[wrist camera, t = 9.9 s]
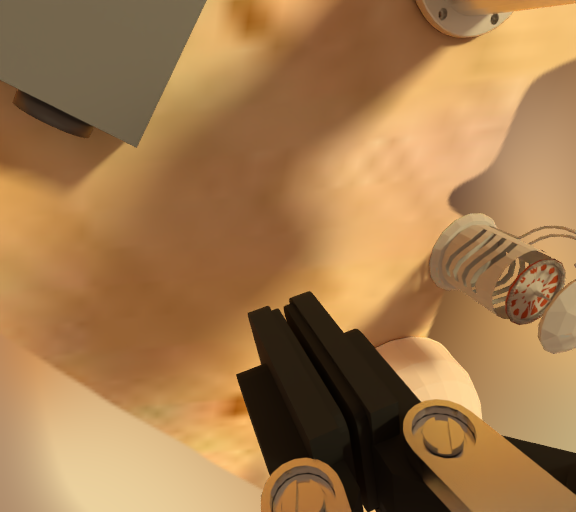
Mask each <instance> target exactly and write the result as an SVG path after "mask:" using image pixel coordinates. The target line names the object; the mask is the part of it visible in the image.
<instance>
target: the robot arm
mask: <svg viewBox="0 0 576 512" xmlns="http://www.w3.org/2000/svg"><path fill="white" fill-rule="evenodd" d="M416 3H417V5H418V7H419V9H420V10H421V12H422V14H423V16H424V17H425V18H426V19H427V21H428V22H429V23H430V24H431V25H432V26H433V27H434V28H436V29H437V30H439V31H440V32H441V33H443V34H446V35H449V36H452V37H460V38H466V37H476V36H479V35H482V34H486V33H488V32H490V31H492V30H494V29H495V28H497V27H498V26H499V25H501V24H502V23H503V22H504V21H505V20H506V19H508V18H509V16H510V15H511V14H512V13H513V12H514V11H520V10H528V9H535V8H543V7H551V6H558V5H566V4H573V3H576V0H416ZM289 302H290V304H289V305H286V306H284V313H285V317H286V320H285V318H284V317H283V315H282V313H281V312H280V310H279V309H275V310H272V311H271V309H270V307H269V306H266V307H263V308H261V309H258V310H255V311H252V312H249V313H248V318H249V322H250V325H251V329H252V332H253V336H254V340H255V343H256V347H257V351H258V354H259V358H260V361H261V365H260V366H257V367H254V368H252V369H249V370H247V371H244V372H242V373H239V374H236V376H237V379H238V383H239V386H240V389H241V392H242V395H243V398H244V401H245V404H246V407H247V410H248V413H249V416H250V419H251V422H252V425H253V428H254V431H255V434H256V437H257V440H258V443H259V446H260V448H261V451H262V454H263V457H264V460H265V463H266V466H267V469H268V472H269V475H270V477H269V479H268V480H267V482H266V483H265V486H264V489H263V492H262V495H261V512H364V511H363V506H364V508H365V509H366V511H367V512H370V511H372V510H374V509H375V510H376V512H576V453H573V452H569V451H565V450H561V449H557V448H552V447H548V446H544V445H540V444H536V443H531V442H527V441H523V440H518V439H515V438H510V437H506V436H502V435H500V434H499V433H498V432H496V431H495V430H494V429H493V428H491V427H490V426H489V425H488V424H486V423H485V422H484V421H483V420H481V419H480V418H479V417H478V416H476V415H475V414H474V413H473V412H471V411H470V410H468V409H467V408H465V407H463V406H462V405H460V404H457V403H454V402H451V401H449V400H439V399H434V400H427V401H423V402H421V401H420V400H419V399H418V398H417V396H416V395H415V394H414V393H413V392H412V391H411V389H410V388H409V387H408V386H407V385H406V384H405V382H404V381H403V380H402V379H401V378H400V377H399V375H398V374H397V373H396V372H395V371H394V370H393V368H392V367H391V366H390V365H389V364H388V363H387V361H386V360H385V359H384V358H383V357H382V356H381V354H380V353H379V352H378V351H377V350H376V349H375V348H374V346H373V345H372V344H371V343H370V342H369V341H368V339H367V338H366V337H365V336H364V335H363V334H362V333H361V332H360V331H359V330H358V329H353V330H350V331H348V332H345V333H343V331H342V330H341V329H340V328H339V326H338V325H337V324H336V322H335V321H334V320H333V319H332V317H331V316H330V315H329V314H328V312H327V311H326V310H325V309H324V307H323V306H322V305H321V304H320V302H319V301H318V300H317V299H316V297H315V296H314V295H313V293H312V292H310V291H309V292H306V293H303V294H300V295H297V296H294V297H292V298H290V299H289Z"/></svg>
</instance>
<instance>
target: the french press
mask: <svg viewBox="0 0 576 512" xmlns="http://www.w3.org/2000/svg"><path fill="white" fill-rule="evenodd" d="M545 228H557V229H564V230H567V231H569V232H572V233H575V234H576V231H575V230H572V229H569V228H566V227H561V226H544V227H540V228H537V229H533V230H531V231H530V232H528V233H526V234H524V235H522V236H519V237H516V236H514V235H512V234H509V233H507V232H505V231H502V230H500V229H498V228H497V226H496V224H495V223H494V220H493V219H492V218H490V217H488V216H486V215H485V214H482V213H481V214H480V213H479V214H468V215H466V216H464V217H461V218H459V219H457V220H455V221H454V222H453V223H452V224H451V225H450V226H449V227H448V228H447V229H445V230H444V231H443V232H442V234H441V235H440V237H439V239H438V240H437V242H436V244H435V245H434V247H433V250H432V254H431V258H430V262H429V266H430V274H431V278H432V279H433V281H434V282H435V284H436V285H437V287H440V288H442V289H445V290H447V291H451V290H460V291H461V292H463V293H464V294H466V295H467V296H469V297H470V298H472V299H473V300H475V301H476V302H478V303H479V304H481V305H482V306H484V307H485V308H487V309H488V310H490V311H492V312H493V313H494V314H496V315H497V316H499V317H501V318H504V319H510V321H511V322H513V323H516V324H518V325H522V324H528V323H531V322H533V321H535V320H537V319H538V318H540V317H542V318H541V320H540V322H539V327H538V338H539V340H540V342H541V344H542V346H543V349H544V350H546V351H548V352H550V353H553V354H555V353H560V352H566V351H569V350H572V349H574V348H576V279H575V280H573V281H572V282H570V283H568V284H567V285H566V286H565V287H564V285H565V270H564V267H563V265H562V263H561V262H559V261H557V260H556V259H551V257H549V256H547V255H545V254H543V253H541V252H538V251H536V250H541V249H538V248H536V247H534V246H532V245H531V244H533V243H535V242H537V241H539V240H542V239H545V238H548V237H557V236H561V237H568V238H572V239H575V240H576V237H574V236H571V235H564V234H550V235H547V236H543V237H540V238H538V239H536V240H534V241H532V242H530V243H529V244H527V243H525V242H523V241H521V240H518V239H521V238H523V237H525V236H527V235H529V234H531V233H533V232H535V231H538V230H541V229H545ZM542 251H543V250H542ZM506 252H507V253H508V254H507V255H506ZM517 258H519V263H520V269H519V272H518V276H517V278H516V279H515V281H514V282H513V283H512V284H511V285H510V286H508V287H505V288H503V289H500V290H497V291H494V288H495V287H497V286H500V285H502V284H505V283H506V282H507V281H508V280H509V279H510V278H511V277H512V276H513V273H514V269H515V265H516V263H515V259H517ZM525 262H527V263H529V266H528V267H527V268H526V269H525ZM509 265H510V267H509V270H508V273H507V274H506V275H505V276H504V277H503V279H502V280H501V281H498V279H499V278H500V276H501V274H502V273H503V271H504V270H505V268H506V267H507V266H509ZM574 266H575V267H576V264H574ZM497 281H498V282H497ZM474 286H475V288H476V289H475V290H472V287H474ZM563 287H564V288H563ZM562 288H563V289H562ZM507 291H508V294H507V296H504V297H501V298H498V299H494V300H492V296H496V295H499V294H502V293H504V292H507ZM476 293H477V294H476ZM503 301H505V305H504V306H501V307H498V308H495V309H494V308H493V304H497V303H500V302H503Z"/></svg>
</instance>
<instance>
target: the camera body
mask: <svg viewBox="0 0 576 512" xmlns="http://www.w3.org/2000/svg"><path fill="white" fill-rule="evenodd" d="M206 1H207V0H0V80H1V81H3V82H5V83H7V84H9V85H11V86H13V87H15V88H17V89H18V90H17V92H16V95H15V97H14V100H13V103H14V104H15V105H16V106H17V107H18V108H19V109H21V110H22V111H24V112H26V113H27V114H29V115H31V116H32V117H34V118H36V119H38V120H40V121H42V122H44V123H46V124H48V125H50V126H53V127H55V128H57V129H59V130H62V131H64V132H67V133H70V134H72V135H75V136H79V137H83V138H89V137H90V135H91V132H92V130H93V128H94V127H96V128H98V129H100V130H102V131H104V132H106V133H108V134H110V135H112V136H114V137H116V138H118V139H120V140H122V141H124V142H126V143H128V144H130V145H132V146H134V147H136V148H137V146H138V144H139V142H140V140H141V138H142V136H143V133H144V131H145V129H146V127H147V125H148V123H149V121H150V119H151V117H152V114H153V112H154V110H155V108H156V106H157V104H158V102H159V100H160V98H161V95H162V93H163V91H164V89H165V87H166V85H167V83H168V81H169V79H170V77H171V74H172V72H173V70H174V68H175V66H176V64H177V62H178V60H179V58H180V55H181V53H182V51H183V49H184V47H185V45H186V43H187V41H188V39H189V36H190V34H191V32H192V30H193V28H194V26H195V24H196V22H197V20H198V17H199V15H200V13H201V11H202V9H203V7H204V5H205V3H206Z"/></svg>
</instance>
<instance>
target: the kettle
mask: <svg viewBox="0 0 576 512" xmlns="http://www.w3.org/2000/svg"><path fill="white" fill-rule="evenodd" d="M375 349H376V350H377V351H378V352H379V353H380V354H381V356H382V357H383V358H384V359H385V360H386V361H387V363H388V364H389V365H390V366H391V367H392V368H393V370H394V371H395V372H396V373H397V374H398V375H399V377H400V378H401V379H402V380H403V381H404V382H405V384H406V385H407V386H408V387H409V388H410V389H411V391H412V392H413V393H414V394H415V395H416V396H417V398H418V399H419V400H420V401H421V402H423V401H427V400H434V399H439V400H449V401H451V402H454V403H457V404H460V405H462V406H463V407H465V408H467V409H468V410H470V411H471V412H473V413H474V414H475V415H476V416H478V417H479V418H480V419H481V420H482V414H481V403H480V401H479V398H478V395H477V392H476V390H475V388H474V386H473V383H472V381H471V379H470V377H469V374H468V373H467V372H466V371H465V370H464V369H463V368H462V367H461V366H460V364H459V363H457V362H456V360H455V359H454V358H453V357H452V356H451V355H450V353H449V351H448V350H447V349H446V348H445V347H444V346H443V345H441V343H439V342H437V341H434V340H432V339H429V338H425V337H407V338H402V339H398V340H393V341H390V342H387V343H385V344H383V345H381V346H379V347H376V348H375Z"/></svg>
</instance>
